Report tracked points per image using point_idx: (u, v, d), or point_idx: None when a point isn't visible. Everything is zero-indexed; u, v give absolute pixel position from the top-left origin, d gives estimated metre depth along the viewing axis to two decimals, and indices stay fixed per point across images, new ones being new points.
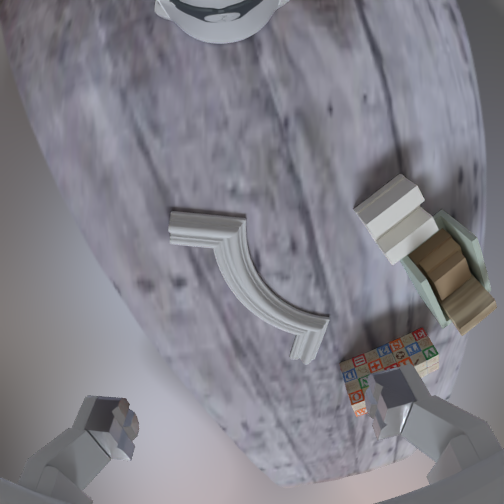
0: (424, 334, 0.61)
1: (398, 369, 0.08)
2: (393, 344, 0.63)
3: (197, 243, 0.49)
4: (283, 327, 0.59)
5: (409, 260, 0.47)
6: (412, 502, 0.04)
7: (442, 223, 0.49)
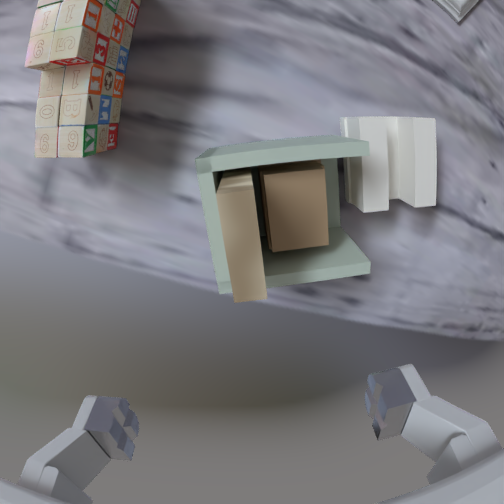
0: (109, 145, 0.31)
1: (398, 370, 0.08)
2: (120, 81, 0.29)
3: None
4: None
5: None
6: (412, 502, 0.04)
7: None
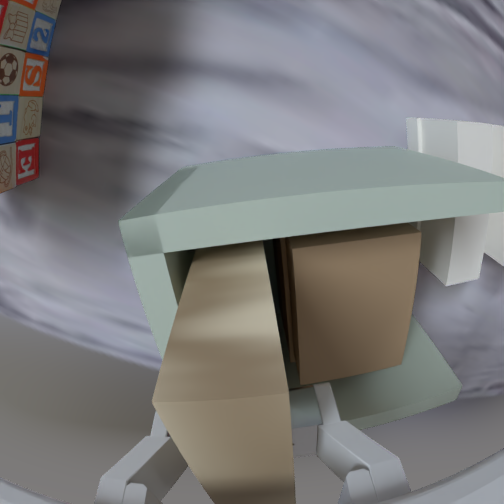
0: (21, 176, 0.16)
1: (312, 388, 0.09)
2: (39, 69, 0.15)
3: None
4: None
5: None
6: (412, 502, 0.04)
7: None
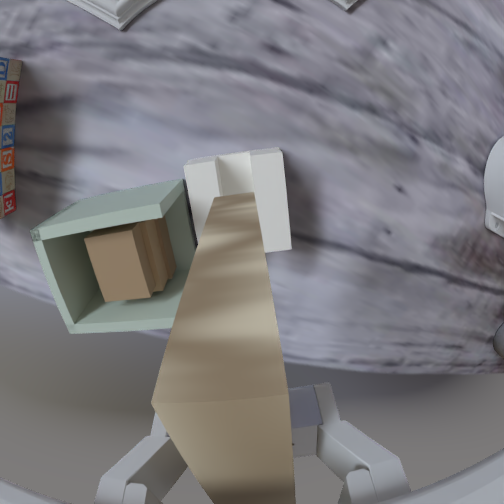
0: (7, 210, 0.32)
1: (312, 388, 0.09)
2: (9, 154, 0.30)
3: None
4: None
5: (175, 197, 0.30)
6: (412, 502, 0.04)
7: (183, 268, 0.38)
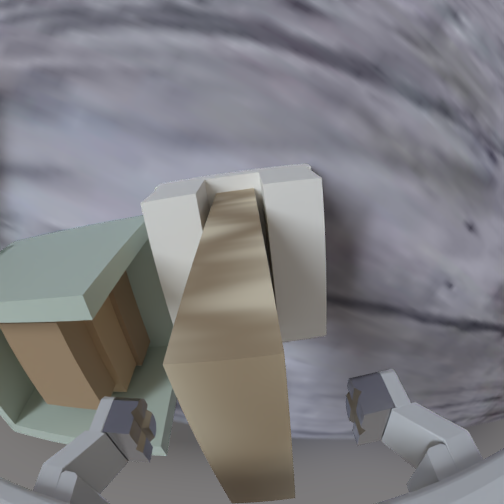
0: None
1: (378, 374, 0.09)
2: None
3: None
4: None
5: (130, 257, 0.17)
6: (412, 502, 0.04)
7: (161, 344, 0.25)
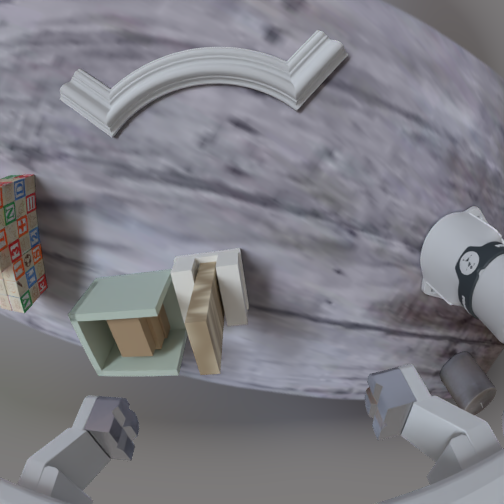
0: (41, 290, 0.47)
1: (398, 370, 0.08)
2: (38, 249, 0.45)
3: (303, 52, 0.35)
4: (133, 77, 0.36)
5: (165, 291, 0.44)
6: (412, 502, 0.04)
7: (175, 328, 0.51)
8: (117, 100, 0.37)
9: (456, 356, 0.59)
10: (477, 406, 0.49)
